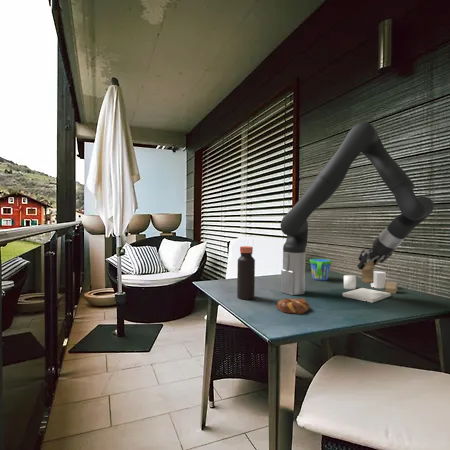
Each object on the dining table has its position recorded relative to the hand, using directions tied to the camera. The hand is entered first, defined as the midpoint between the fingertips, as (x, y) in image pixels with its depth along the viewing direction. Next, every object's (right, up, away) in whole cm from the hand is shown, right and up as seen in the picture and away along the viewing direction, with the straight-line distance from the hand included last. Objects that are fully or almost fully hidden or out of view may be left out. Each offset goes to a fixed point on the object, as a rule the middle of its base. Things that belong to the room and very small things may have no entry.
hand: (364, 267), depth 126 cm
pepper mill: (+1, -6, -2) cm, 6 cm away
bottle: (-49, -11, -6) cm, 51 cm away
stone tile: (0, -11, -1) cm, 11 cm away
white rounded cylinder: (-1, -11, +13) cm, 17 cm away
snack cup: (-8, -11, +31) cm, 34 cm away
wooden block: (+15, -12, +6) cm, 20 cm away
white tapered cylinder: (+14, -11, +16) cm, 24 cm away
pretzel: (-34, -12, -20) cm, 41 cm away
